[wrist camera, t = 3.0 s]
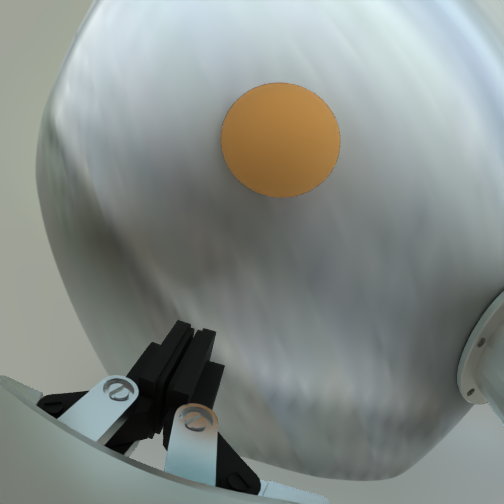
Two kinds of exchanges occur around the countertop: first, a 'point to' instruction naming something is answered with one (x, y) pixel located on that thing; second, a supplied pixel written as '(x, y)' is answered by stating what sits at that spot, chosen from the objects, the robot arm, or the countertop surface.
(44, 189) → the countertop surface
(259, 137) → the ball
